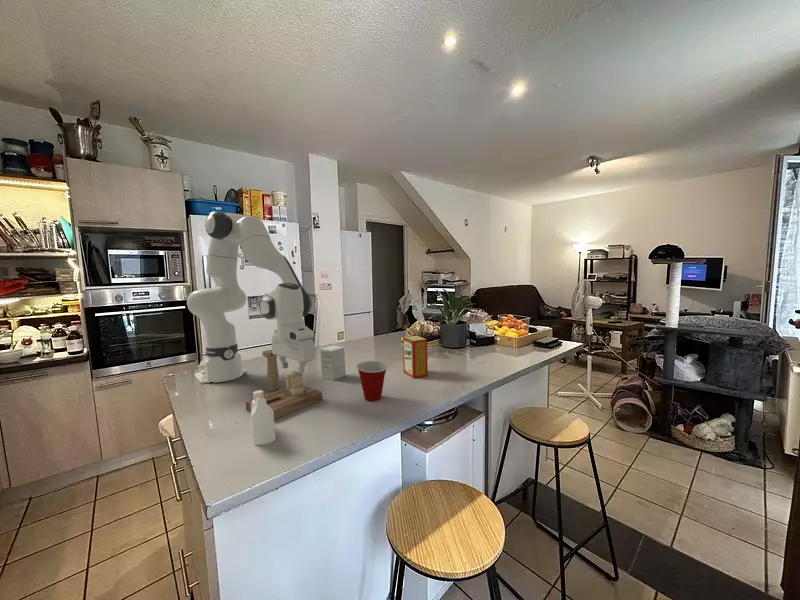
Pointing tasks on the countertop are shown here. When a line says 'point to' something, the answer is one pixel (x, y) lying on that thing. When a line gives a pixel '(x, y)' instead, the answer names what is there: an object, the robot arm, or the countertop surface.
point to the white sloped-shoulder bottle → (262, 423)
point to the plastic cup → (372, 379)
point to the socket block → (289, 401)
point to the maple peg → (294, 383)
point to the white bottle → (256, 394)
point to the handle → (271, 369)
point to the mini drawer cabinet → (332, 362)
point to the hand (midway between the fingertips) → (292, 370)
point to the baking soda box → (415, 356)
